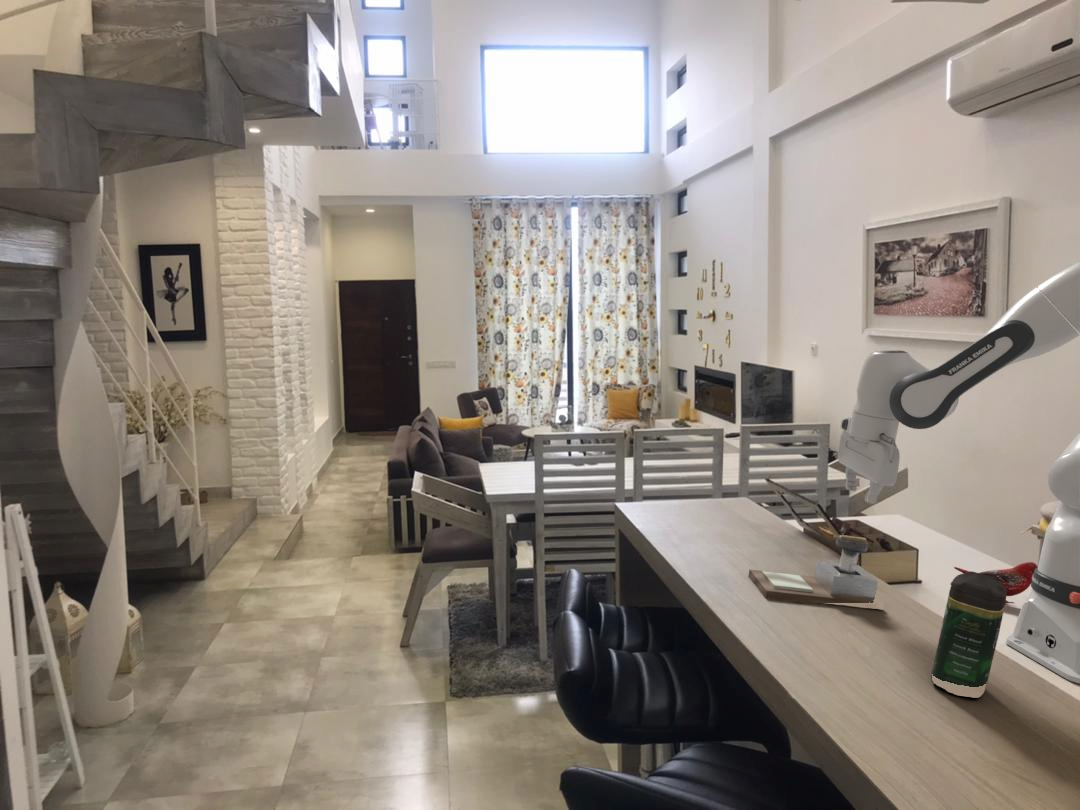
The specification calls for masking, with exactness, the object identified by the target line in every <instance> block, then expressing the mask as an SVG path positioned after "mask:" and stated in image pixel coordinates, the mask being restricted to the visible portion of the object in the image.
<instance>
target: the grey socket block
mask: <svg viewBox="0 0 1080 810" xmlns="http://www.w3.org/2000/svg"><path fill="white" fill-rule="evenodd" d="M839 565H840V562H830V561H821V560H817V562H816V566H815V567H816V568H815V572H814V576H813V577H814V579H815V580H816V581H817V582H818V583H819V584H820V585H821V586H822V587H823V588H824V589H825V590H826V591H827V592H828V593H829V594H830V595H834V596H843V597H852V598H861V599H870V600H874V599H875V595H876V593H877V588H878V583H879V580H877V579H876V578H875V577H873V575H871V574H870V573H869V572H868V571H866V570H865V569H864V568H863V567H862V566H860V565H859V564H858V565H856V571H855V575H851V574H842V573H840V572H839V571H838V570H839Z"/></svg>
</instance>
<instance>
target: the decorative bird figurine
mask: <svg viewBox="0 0 1080 810" xmlns="http://www.w3.org/2000/svg"><path fill="white" fill-rule="evenodd" d="M953 568H954V569H955V570H956V571H958V572H959V573H960V572H961V574H964V573H969V572H971V571H970V570H967V569H963V568H960V567H956V566H954V567H953ZM1036 568H1038V565H1037V564H1036V563H1035V562H1033V561H1032V562H1031V561H1029V562H1028V561H1027V562H1023V563H1020V564H1018V565H1016V566H1014V567H1011V568H1005V569H993V570H987V571H981V572H979V573H980V574H983V575H987V576H990V577H994V578H996V579H998V581H999V582H1000V583H1001V584H1002V585H1003V586H1004V587H1005V588H1006V590H1007V594H1006V597H1012V596H1013V597H1014V596H1017V595H1019V594H1021V593H1023V592H1025V591H1026V590H1027V589H1028V588H1029V587H1031V583H1032V576H1033V574H1034V571H1035V569H1036ZM1007 604H1014V605H1015V602H1013V601H1008V600H1007V599H1006V601H1005V605H1007Z"/></svg>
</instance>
